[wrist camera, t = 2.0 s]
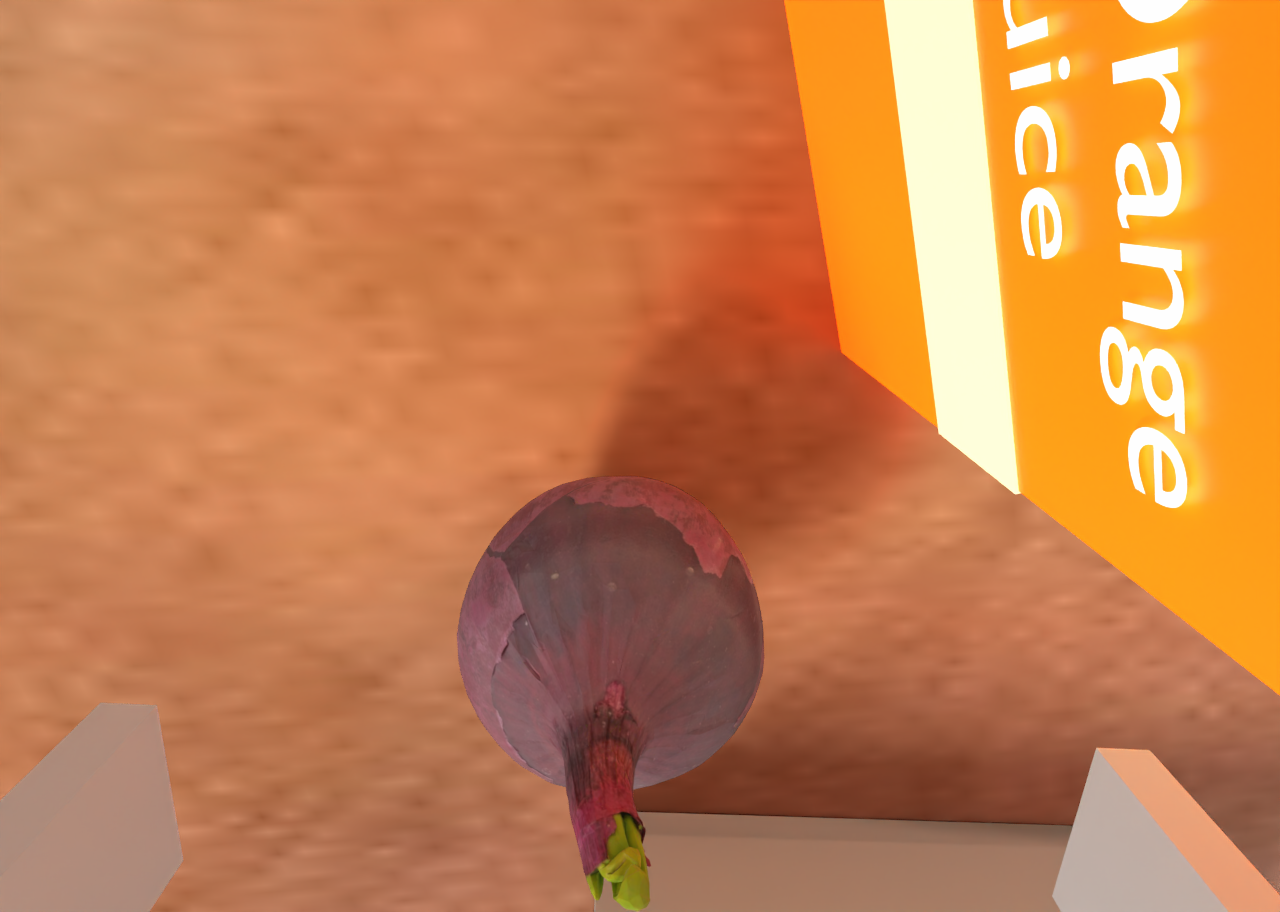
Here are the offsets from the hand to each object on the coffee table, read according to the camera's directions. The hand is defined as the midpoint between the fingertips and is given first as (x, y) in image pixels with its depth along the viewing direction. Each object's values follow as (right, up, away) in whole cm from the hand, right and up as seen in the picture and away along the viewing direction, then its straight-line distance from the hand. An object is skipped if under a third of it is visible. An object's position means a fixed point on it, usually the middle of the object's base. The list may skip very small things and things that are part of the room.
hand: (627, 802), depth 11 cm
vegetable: (0, +3, +8) cm, 9 cm away
